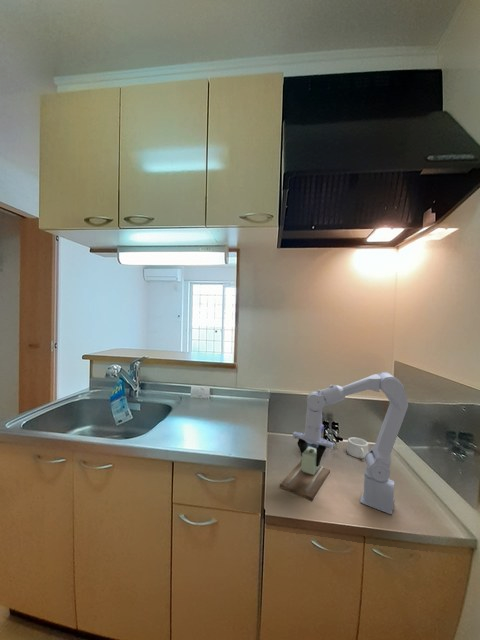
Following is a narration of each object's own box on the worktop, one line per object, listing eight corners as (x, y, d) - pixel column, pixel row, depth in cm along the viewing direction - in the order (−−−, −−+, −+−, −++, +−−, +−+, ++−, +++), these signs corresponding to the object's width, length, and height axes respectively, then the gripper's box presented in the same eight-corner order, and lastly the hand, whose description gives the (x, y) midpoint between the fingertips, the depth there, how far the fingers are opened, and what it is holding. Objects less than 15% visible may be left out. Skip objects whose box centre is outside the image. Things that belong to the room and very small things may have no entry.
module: (319, 466, 102) (320, 448, 102) (313, 474, 96) (314, 455, 96) (307, 462, 105) (308, 444, 105) (301, 470, 99) (302, 451, 99)
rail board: (329, 472, 112) (331, 453, 112) (312, 500, 93) (313, 477, 93) (301, 462, 118) (302, 444, 118) (279, 486, 100) (281, 465, 100)
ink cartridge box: (318, 458, 123) (320, 426, 123) (306, 454, 125) (308, 423, 125) (322, 449, 132) (324, 419, 131) (311, 446, 134) (313, 416, 134)
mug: (343, 448, 135) (344, 435, 135) (363, 450, 134) (364, 437, 134) (351, 460, 123) (352, 447, 123) (374, 462, 122) (375, 449, 122)
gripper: (290, 423, 101) (287, 460, 101) (330, 435, 93) (328, 474, 93) (297, 418, 107) (295, 453, 107) (335, 428, 99) (333, 466, 99)
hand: (310, 462), depth 101 cm, fingers closed on module, 4 cm apart
